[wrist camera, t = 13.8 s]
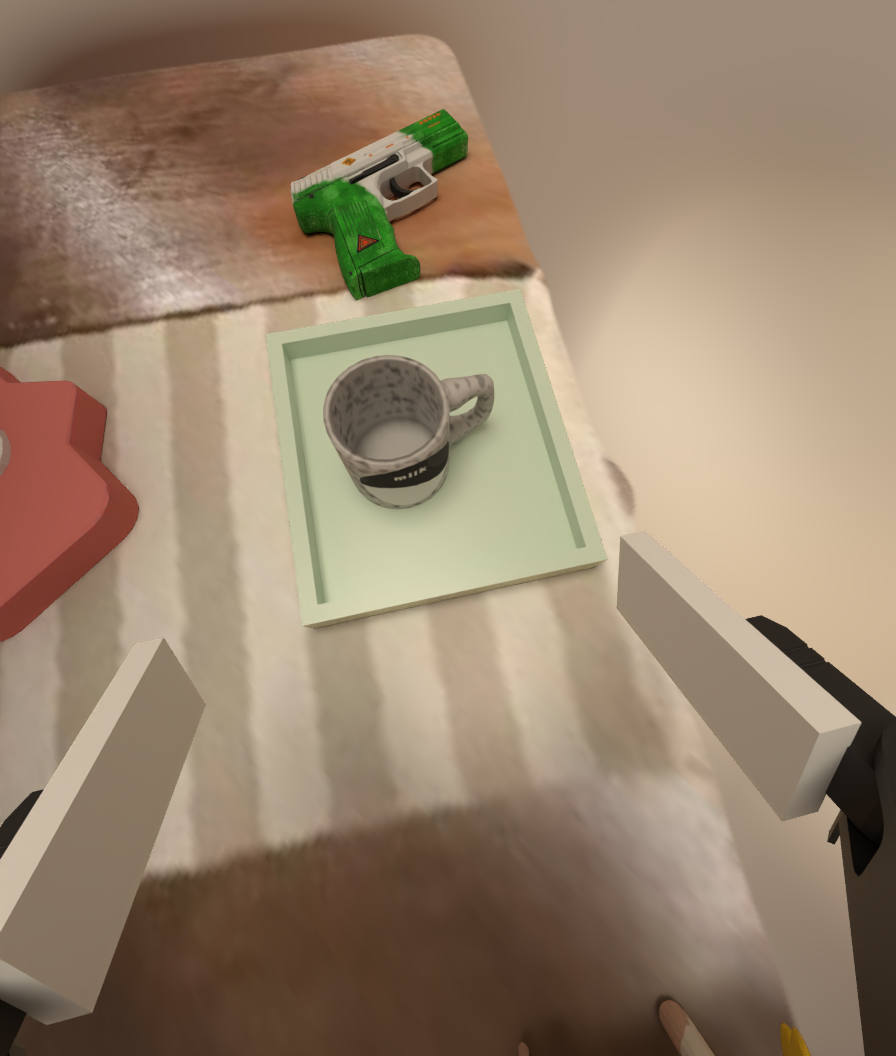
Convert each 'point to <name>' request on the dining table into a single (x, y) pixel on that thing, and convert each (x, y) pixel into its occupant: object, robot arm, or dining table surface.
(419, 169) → the handgun
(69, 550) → the plaque
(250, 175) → the dining table surface
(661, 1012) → the toy
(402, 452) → the mug
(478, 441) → the tray
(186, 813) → the dining table surface
